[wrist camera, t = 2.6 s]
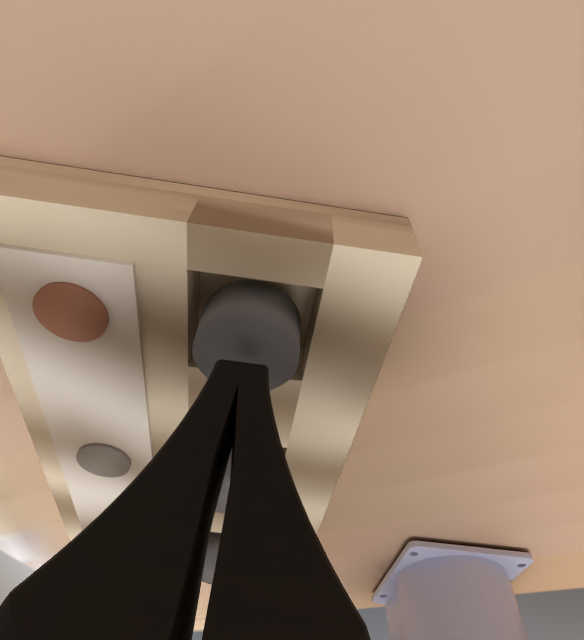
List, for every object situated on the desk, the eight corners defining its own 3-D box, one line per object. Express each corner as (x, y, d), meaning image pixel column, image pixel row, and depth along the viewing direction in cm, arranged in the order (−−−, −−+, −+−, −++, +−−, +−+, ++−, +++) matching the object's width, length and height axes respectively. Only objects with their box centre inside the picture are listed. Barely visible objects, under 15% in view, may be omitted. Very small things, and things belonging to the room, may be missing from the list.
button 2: (253, 556, 26) (250, 588, 24) (198, 550, 25) (192, 583, 24) (259, 531, 24) (255, 564, 22) (199, 524, 23) (192, 558, 22)
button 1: (293, 361, 16) (291, 398, 14) (202, 350, 15) (192, 386, 14) (307, 288, 14) (307, 323, 12) (204, 273, 13) (191, 307, 12)
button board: (299, 543, 28) (297, 591, 26) (94, 521, 28) (75, 569, 26) (408, 218, 14) (425, 265, 12) (-12, 154, 13) (-76, 191, 11)
